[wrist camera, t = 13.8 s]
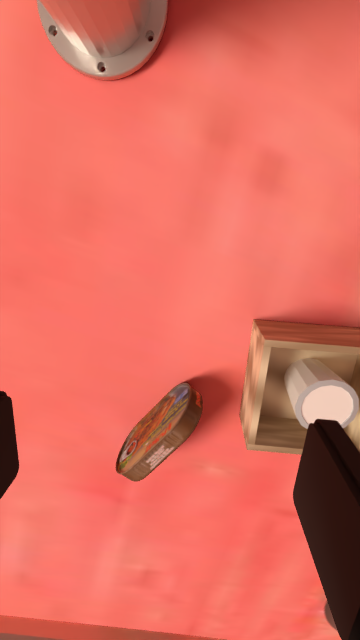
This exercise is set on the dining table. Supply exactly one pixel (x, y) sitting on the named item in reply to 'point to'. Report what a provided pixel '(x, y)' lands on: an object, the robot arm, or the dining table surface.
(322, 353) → the box
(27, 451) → the dining table surface
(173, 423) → the tin
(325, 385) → the shot glass
